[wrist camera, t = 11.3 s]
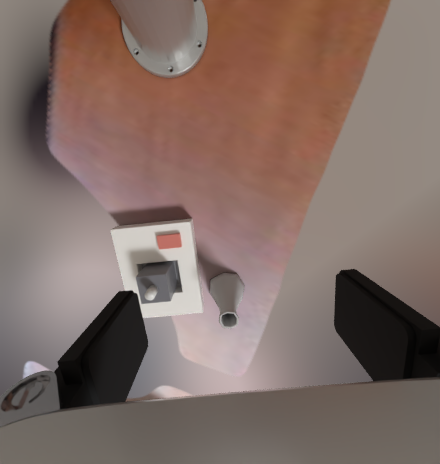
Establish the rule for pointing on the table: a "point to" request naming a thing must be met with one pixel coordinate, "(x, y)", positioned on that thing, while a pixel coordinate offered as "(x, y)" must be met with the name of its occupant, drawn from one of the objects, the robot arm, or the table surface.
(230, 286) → the flask
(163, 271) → the plug
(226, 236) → the table surface
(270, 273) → the table surface
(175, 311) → the socket plate
